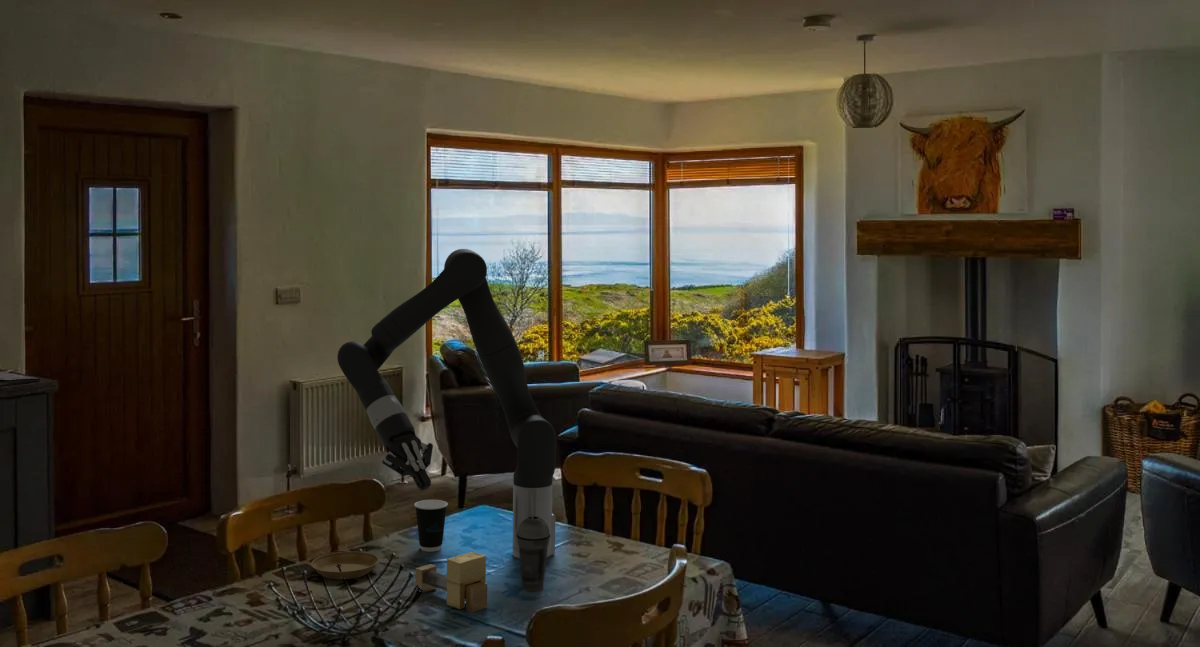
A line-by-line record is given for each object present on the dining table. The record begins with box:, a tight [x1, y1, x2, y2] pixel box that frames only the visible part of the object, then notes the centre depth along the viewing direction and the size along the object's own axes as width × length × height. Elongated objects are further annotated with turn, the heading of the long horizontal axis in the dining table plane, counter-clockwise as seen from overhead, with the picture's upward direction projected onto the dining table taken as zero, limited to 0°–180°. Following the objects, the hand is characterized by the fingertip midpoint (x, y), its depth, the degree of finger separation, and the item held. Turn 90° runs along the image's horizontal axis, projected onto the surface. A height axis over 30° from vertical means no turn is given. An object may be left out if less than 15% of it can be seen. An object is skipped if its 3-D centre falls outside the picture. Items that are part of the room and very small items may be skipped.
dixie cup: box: [414, 499, 449, 553], centre depth 260 cm, size 8×8×11 cm
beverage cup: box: [517, 496, 550, 592], centre depth 233 cm, size 7×7×20 cm
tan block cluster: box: [415, 563, 488, 613], centre depth 226 cm, size 18×9×5 cm, turn 48°
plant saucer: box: [310, 551, 380, 580], centre depth 242 cm, size 15×15×3 cm
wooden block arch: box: [446, 551, 487, 610], centre depth 222 cm, size 4×7×10 cm, turn 138°
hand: (426, 487), depth 231 cm, fingers closed
